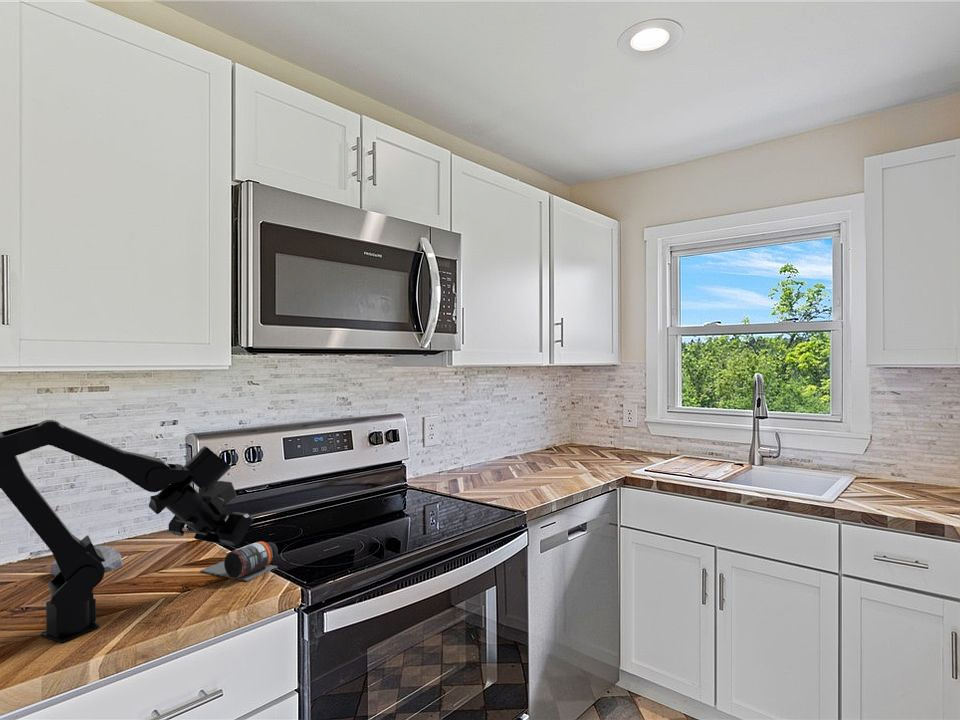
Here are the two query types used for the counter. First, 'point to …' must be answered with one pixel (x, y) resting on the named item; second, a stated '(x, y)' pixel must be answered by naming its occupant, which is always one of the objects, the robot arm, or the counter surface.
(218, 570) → the pad
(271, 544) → the supplement bottle
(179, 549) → the counter surface
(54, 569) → the stone block
